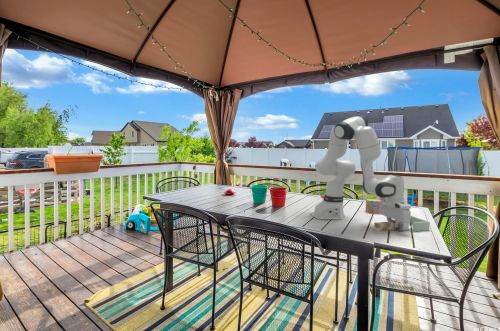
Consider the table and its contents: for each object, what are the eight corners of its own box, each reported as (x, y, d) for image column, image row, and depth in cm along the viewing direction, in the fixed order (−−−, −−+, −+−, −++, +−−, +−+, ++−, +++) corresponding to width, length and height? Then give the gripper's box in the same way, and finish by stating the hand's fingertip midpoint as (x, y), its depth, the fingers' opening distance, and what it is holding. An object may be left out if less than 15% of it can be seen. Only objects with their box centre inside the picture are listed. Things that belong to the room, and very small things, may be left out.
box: (413, 231, 138) (414, 223, 138) (396, 224, 151) (396, 216, 150) (429, 230, 141) (429, 221, 140) (410, 223, 153) (411, 215, 152)
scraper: (381, 232, 136) (382, 225, 136) (370, 227, 145) (370, 220, 144) (403, 231, 139) (403, 223, 138) (390, 226, 147) (391, 218, 147)
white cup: (391, 226, 148) (392, 209, 147) (403, 225, 148) (404, 209, 147) (400, 230, 140) (401, 213, 139) (412, 230, 140) (414, 213, 139)
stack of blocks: (367, 213, 175) (368, 196, 174) (365, 211, 181) (366, 194, 180) (400, 215, 171) (401, 198, 170) (396, 212, 177) (397, 196, 176)
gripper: (376, 198, 151) (375, 220, 152) (403, 207, 131) (402, 232, 132) (385, 198, 152) (384, 220, 153) (413, 206, 132) (411, 231, 133)
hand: (392, 225), depth 142 cm, fingers closed on scraper, 3 cm apart
